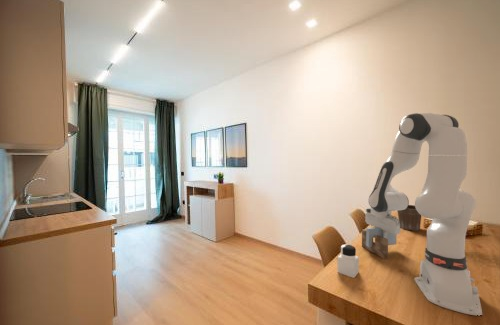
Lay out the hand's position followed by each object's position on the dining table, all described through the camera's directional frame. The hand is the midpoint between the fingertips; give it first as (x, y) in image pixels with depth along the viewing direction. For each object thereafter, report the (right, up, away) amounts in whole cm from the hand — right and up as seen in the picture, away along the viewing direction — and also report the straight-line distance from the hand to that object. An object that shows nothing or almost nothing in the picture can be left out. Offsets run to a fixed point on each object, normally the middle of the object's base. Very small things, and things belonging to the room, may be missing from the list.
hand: (381, 236), depth 116 cm
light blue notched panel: (0, -5, 0) cm, 5 cm away
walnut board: (-5, -8, -1) cm, 9 cm away
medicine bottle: (-29, -9, -21) cm, 37 cm away
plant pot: (+45, -8, +38) cm, 59 cm away
